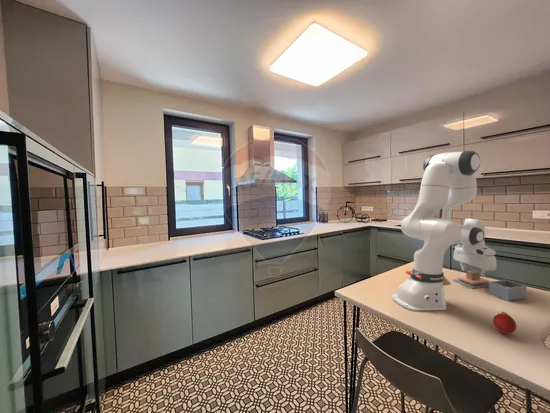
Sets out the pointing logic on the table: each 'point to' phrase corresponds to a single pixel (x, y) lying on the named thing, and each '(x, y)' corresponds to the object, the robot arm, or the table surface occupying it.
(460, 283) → the mat
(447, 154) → the robot arm
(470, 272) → the lid
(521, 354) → the table surface
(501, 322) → the onion
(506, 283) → the storage box
